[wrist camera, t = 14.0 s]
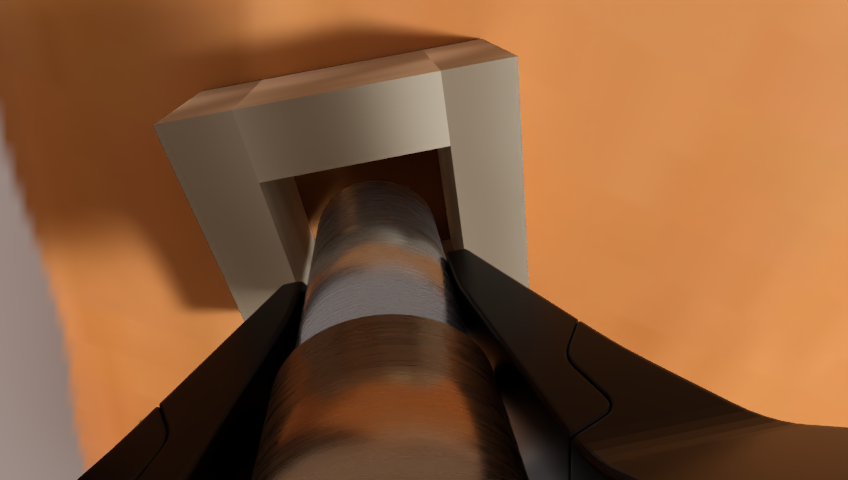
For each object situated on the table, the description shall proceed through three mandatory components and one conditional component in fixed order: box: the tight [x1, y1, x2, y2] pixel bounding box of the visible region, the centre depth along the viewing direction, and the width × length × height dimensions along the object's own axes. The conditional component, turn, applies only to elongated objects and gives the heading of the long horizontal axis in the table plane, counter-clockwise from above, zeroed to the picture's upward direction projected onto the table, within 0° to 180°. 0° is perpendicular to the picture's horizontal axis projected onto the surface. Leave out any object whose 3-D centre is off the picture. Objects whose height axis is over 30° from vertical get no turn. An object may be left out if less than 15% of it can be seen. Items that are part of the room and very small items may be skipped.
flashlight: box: [251, 180, 529, 480], centre depth 7 cm, size 3×3×8 cm
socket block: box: [153, 39, 529, 321], centre depth 12 cm, size 7×7×3 cm
